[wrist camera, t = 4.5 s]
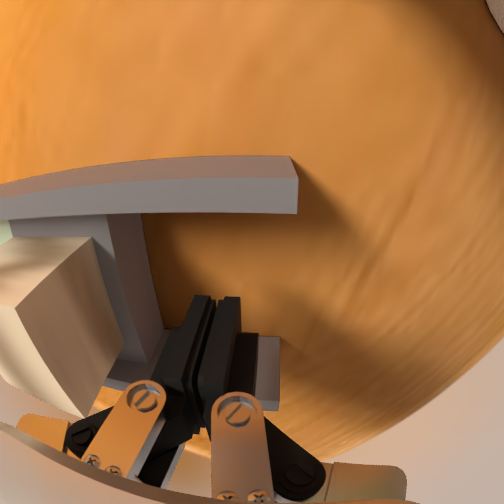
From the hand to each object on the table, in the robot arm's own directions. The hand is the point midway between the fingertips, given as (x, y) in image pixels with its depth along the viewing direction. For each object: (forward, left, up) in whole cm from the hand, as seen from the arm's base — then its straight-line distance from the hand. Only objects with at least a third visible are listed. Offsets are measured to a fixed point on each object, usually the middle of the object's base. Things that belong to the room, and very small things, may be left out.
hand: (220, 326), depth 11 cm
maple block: (+8, -3, -1) cm, 9 cm away
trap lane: (+11, -4, -4) cm, 12 cm away
